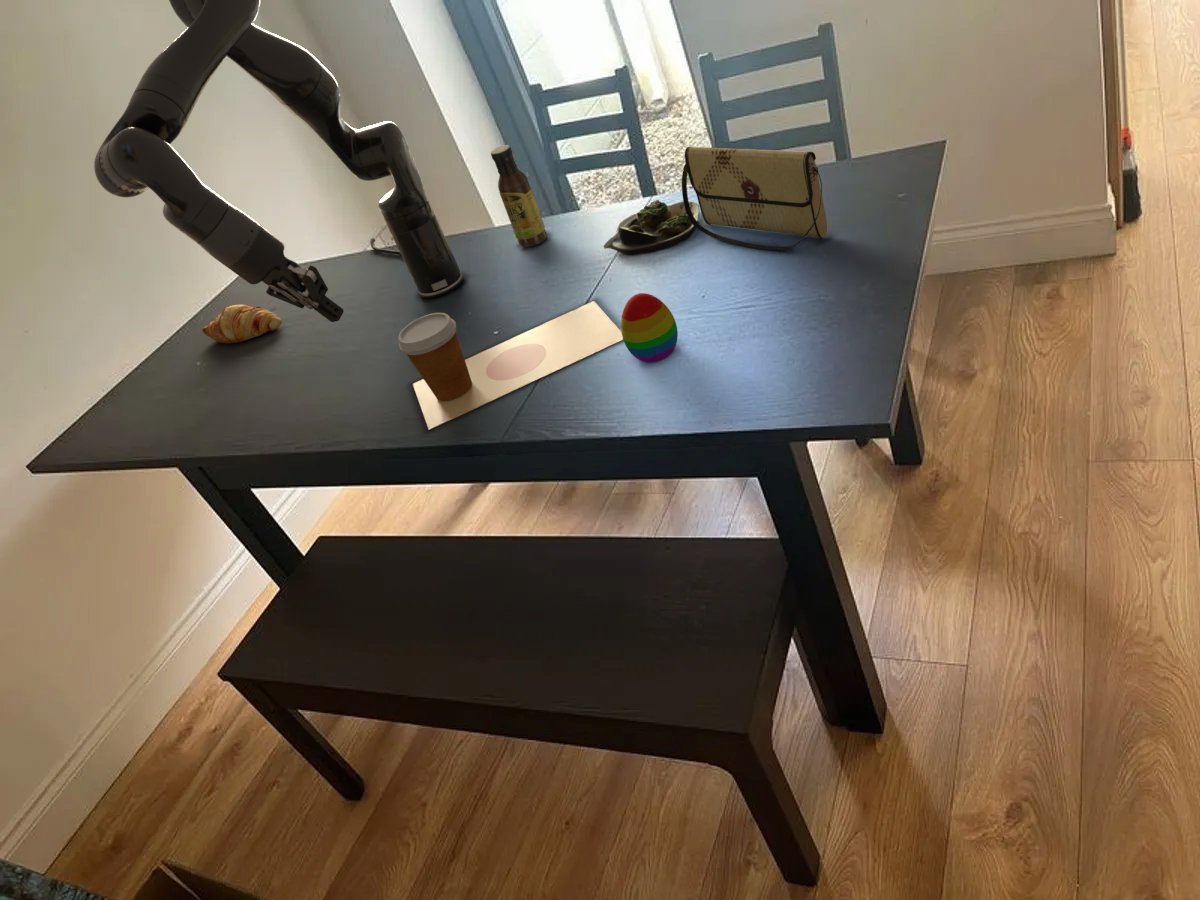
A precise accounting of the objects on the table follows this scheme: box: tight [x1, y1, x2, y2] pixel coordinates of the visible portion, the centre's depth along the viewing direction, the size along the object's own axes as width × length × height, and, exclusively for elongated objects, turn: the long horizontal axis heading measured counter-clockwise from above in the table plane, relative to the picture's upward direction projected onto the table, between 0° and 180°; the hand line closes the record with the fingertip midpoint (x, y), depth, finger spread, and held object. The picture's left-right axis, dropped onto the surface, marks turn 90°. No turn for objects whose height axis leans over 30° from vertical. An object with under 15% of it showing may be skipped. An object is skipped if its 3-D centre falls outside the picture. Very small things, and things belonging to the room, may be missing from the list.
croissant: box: [201, 303, 283, 344], centre depth 201 cm, size 21×10×8 cm, turn 74°
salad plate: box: [603, 199, 700, 256], centre depth 177 cm, size 19×18×5 cm
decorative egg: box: [620, 292, 679, 364], centre depth 139 cm, size 8×8×10 cm
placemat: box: [412, 300, 624, 431], centre depth 154 cm, size 17×34×1 cm, turn 109°
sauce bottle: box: [490, 144, 548, 248], centre depth 187 cm, size 6×6×20 cm
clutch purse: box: [681, 146, 828, 251], centre depth 158 cm, size 30×7×15 cm, turn 43°
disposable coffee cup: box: [397, 312, 472, 401], centre depth 149 cm, size 10×10×12 cm
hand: (338, 316), depth 142 cm, fingers closed
